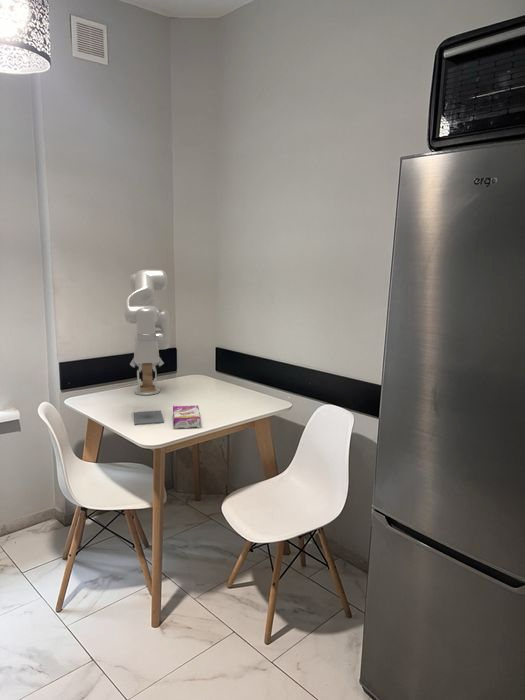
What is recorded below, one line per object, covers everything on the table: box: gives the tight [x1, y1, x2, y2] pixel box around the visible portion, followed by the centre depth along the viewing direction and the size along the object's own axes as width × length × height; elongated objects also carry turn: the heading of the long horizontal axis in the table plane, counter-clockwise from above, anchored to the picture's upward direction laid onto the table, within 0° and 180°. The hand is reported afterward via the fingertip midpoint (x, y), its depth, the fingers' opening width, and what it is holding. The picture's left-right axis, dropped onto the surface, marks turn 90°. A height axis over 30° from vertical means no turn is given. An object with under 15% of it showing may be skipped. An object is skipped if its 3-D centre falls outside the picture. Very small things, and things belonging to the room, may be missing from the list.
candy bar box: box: [172, 405, 202, 429], centre depth 214 cm, size 11×5×16 cm
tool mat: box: [133, 410, 165, 426], centre depth 219 cm, size 16×12×1 cm
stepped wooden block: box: [140, 363, 155, 392], centre depth 215 cm, size 6×6×12 cm
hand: (147, 379), depth 216 cm, fingers closed on stepped wooden block, 4 cm apart
